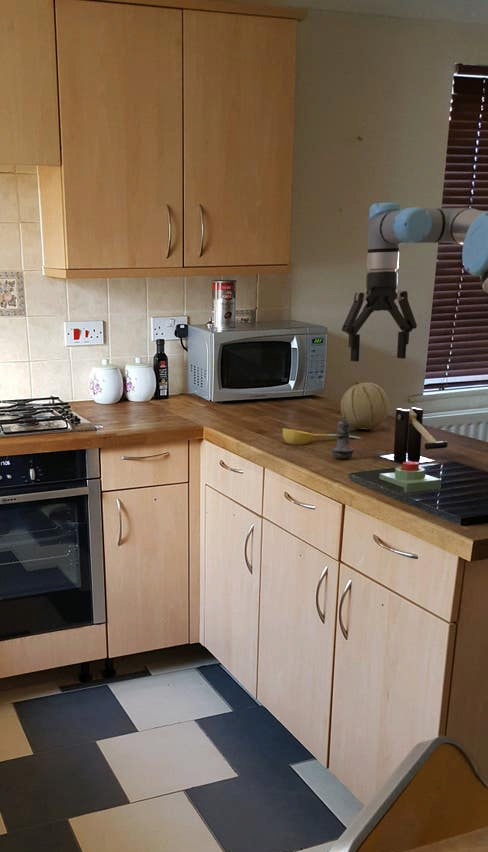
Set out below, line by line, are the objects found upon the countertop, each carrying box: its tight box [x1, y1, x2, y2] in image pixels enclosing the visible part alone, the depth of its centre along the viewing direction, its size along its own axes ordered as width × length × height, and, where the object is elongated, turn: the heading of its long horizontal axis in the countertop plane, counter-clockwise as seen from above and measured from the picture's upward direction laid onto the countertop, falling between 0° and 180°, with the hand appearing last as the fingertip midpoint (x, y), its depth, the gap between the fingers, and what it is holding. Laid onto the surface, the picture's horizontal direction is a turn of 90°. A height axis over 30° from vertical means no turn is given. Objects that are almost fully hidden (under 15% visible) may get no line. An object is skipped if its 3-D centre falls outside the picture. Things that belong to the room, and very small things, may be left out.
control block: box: [378, 466, 442, 494], centre depth 199 cm, size 11×9×4 cm
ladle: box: [282, 427, 361, 446], centre depth 252 cm, size 9×26×6 cm, turn 107°
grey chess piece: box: [330, 416, 355, 461], centre depth 225 cm, size 6×6×12 cm
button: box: [401, 461, 420, 471], centre depth 199 cm, size 4×4×2 cm
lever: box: [406, 408, 448, 451], centre depth 216 cm, size 15×6×2 cm, turn 19°
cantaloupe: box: [340, 380, 390, 429], centre depth 272 cm, size 15×15×15 cm
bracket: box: [378, 407, 437, 465], centre depth 222 cm, size 12×9×14 cm
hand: (378, 359), depth 222 cm, fingers open, 13 cm apart
